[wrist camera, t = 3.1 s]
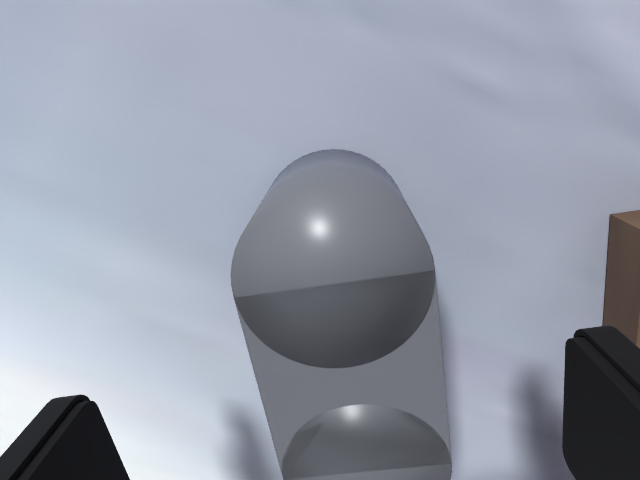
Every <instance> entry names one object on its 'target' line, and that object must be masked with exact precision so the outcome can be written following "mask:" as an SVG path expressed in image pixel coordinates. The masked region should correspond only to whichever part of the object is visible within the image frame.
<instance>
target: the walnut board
mask: <svg viewBox="0 0 640 480" xmlns="http://www.w3.org/2000/svg"><path fill="white" fill-rule="evenodd" d="M603 326H613V327H615V328H616V329H618V330H619V331H620V332H621V333H622V334H623V335H625V336H626V337H627V338H628V339H629V340H630V341H632V342H633V343H634V344H635V345H636V346H637V347H638V348H640V210H638V211H631V212H624V213H617V214H610V228H609V243H608V258H607V273H606V288H605V303H604V318H603Z"/></svg>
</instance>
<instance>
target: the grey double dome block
mask: <svg viewBox="0 0 640 480" xmlns="http://www.w3.org/2000/svg"><path fill="white" fill-rule="evenodd" d="M231 285H232V291H233V296H234V300H235V304H236V307H237V311H238V315H239V318H240V322H241V326H242V329H243V333H244V337H245V340H246V344H247V348H248V351H249V355H250V359H251V362H252V366H253V370H254V373H255V377H256V381H257V384H258V388H259V392H260V395H261V399H262V403H263V406H264V410H265V414H266V417H267V421H268V425H269V429H270V432H271V436H272V440H273V443H274V447H275V451H276V454H277V458H278V462H279V465H280V469H281V473H282V476H283V480H450V479H451V473H452V461H451V450H450V438H449V426H448V415H447V403H446V392H445V380H444V368H443V357H442V345H441V334H440V322H439V310H438V299H437V287H436V276H435V267H434V261H433V256H432V253H431V250H430V247H429V244H428V242H427V240H426V238H425V236H424V234H423V232H422V230H421V229H420V227H419V225H418V223H417V221H416V219H415V218H414V216H413V214H412V212H411V210H410V208H409V207H408V205H407V203H406V201H405V199H404V198H403V196H402V194H401V192H400V190H399V188H398V187H397V185H396V183H395V182H394V180H393V179H392V177H391V176H390V175H389V174H388V173H387V172H386V170H385V169H383V168H382V167H381V166H380V165H379V164H378V163H376V162H374V161H373V160H371V159H370V158H368V157H366V156H363V155H361V154H358V153H355V152H352V151H346V150H335V149H331V150H321V151H317V152H313V153H310V154H308V155H305V156H303V157H301V158H299V159H297V160H295V161H294V162H292V163H291V164H290V165H288V166H287V167H286V168H285V169H284V170H283V171H282V172H281V173H280V174H279V175H278V177H277V178H276V179H275V181H274V182H273V184H272V186H271V187H270V189H269V191H268V192H267V194H266V195H265V197H264V199H263V200H262V202H261V204H260V205H259V207H258V209H257V210H256V212H255V214H254V215H253V217H252V218H251V220H250V222H249V223H248V225H247V227H246V228H245V230H244V232H243V234H242V235H241V237H240V239H239V241H238V244H237V246H236V249H235V252H234V256H233V260H232V268H231Z"/></svg>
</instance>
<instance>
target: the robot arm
mask: <svg viewBox="0 0 640 480" xmlns="http://www.w3.org/2000/svg"><path fill="white" fill-rule="evenodd" d="M562 447H563V454H564V457H565V461H566V463H567V465H568V467H569V469H570V471H571V472H572V474H573V476H574V477H575V479H576V480H640V348H638V347H637V346H636V345H635V344H634V343H633V342H632V341H630V340H629V339H628V338H627V337H626V336H625V335H623V334H622V333H621V332H620V331H619V330H618V329H616V328H615V327H613V326H601V327H593V328H586V329H579V330H577V331H576V332H575V334H574V338H571V339H568V340H567V341H566V346H565V378H564V411H563V444H562ZM0 480H130V479H129V477H128V474H127V472H126V470H125V467H124V465H123V463H122V461H121V458H120V456H119V454H118V451H117V449H116V447H115V445H114V442H113V440H112V438H111V435H110V433H109V431H108V429H107V426H106V424H105V422H104V419H103V417H102V415H101V412H100V410H99V408H98V406H97V404H96V403H95V402H94V401H90V400H89V398H88V397H87V396H85V395H74V396H67V397H59V398H55V399H52V400H51V401H49V402H48V403H47V404H46V405H45V407H44V408H43V409H42V410H41V411H40V412H39V413H38V415H37V416H36V417H35V418H34V419H33V420H32V421H31V423H30V424H29V425H28V426H27V427H26V428H25V429H24V431H23V432H22V433H21V434H20V435H19V436H18V437H17V439H16V440H15V441H14V442H13V443H12V444H11V445H10V447H9V448H8V449H7V450H6V451H5V452H4V453H3V455H2V456H1V457H0Z"/></svg>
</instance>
